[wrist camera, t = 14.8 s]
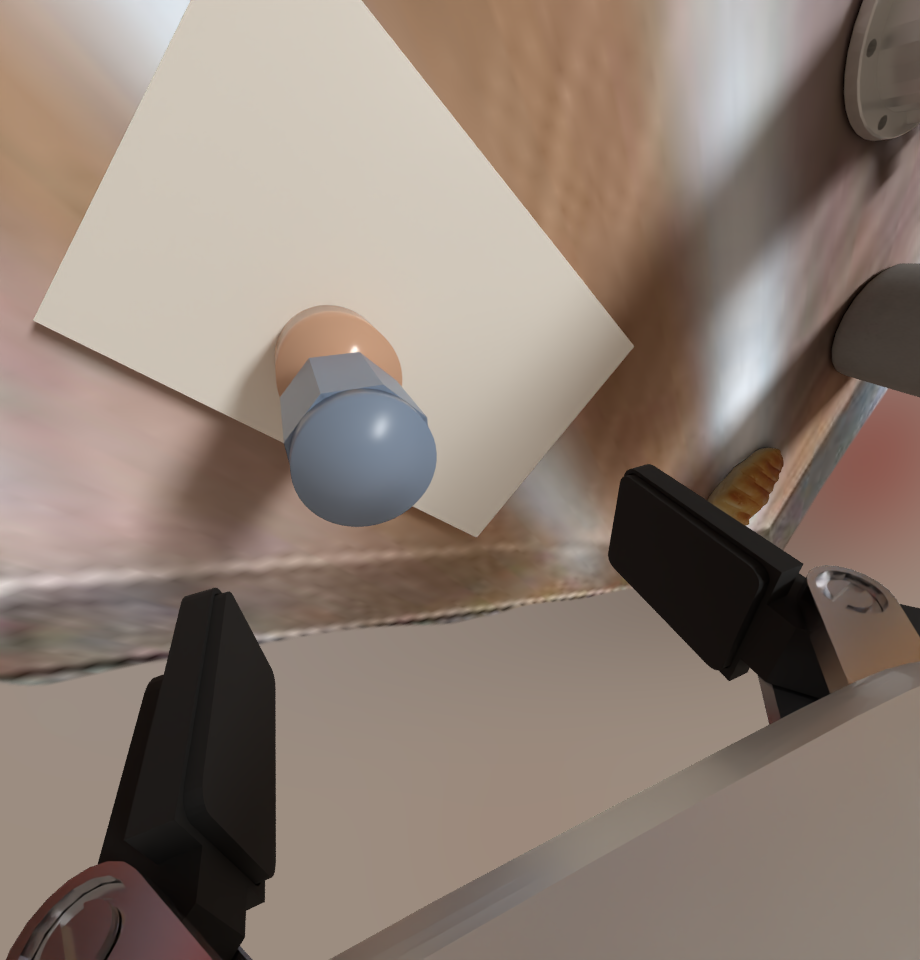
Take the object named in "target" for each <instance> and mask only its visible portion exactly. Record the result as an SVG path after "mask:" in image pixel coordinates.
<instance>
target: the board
mask: <svg viewBox="0 0 920 960" xmlns="http://www.w3.org/2000/svg"><path fill="white" fill-rule="evenodd" d="M319 305H335V306H340V307H344V308H347V309H350V310H352V311H354V312H356V313H358V314H359V315H361V316H362V317H364V318H365V319H366V320H367V321H368V322H369V323H370V324H371V325H372V326H373V327H375V328H376V329H377V330H378V331H379V332H380V333H381V334H382V335H383V336H384V337H385V338H386V339H387V341H388V342H389V343H390V344H391V346H392V347H393V349H394V350H395V352H396V354H397V356H398V359H399V362H400V365H401V370H402V388H403V389H404V390H405V391H406V392H407V394H408V395H409V396H410V397H411V398H412V400H413V401H414V402H415V403H416V404H417V406H418V407H419V408H420V409H421V410H422V412H423V413H424V414H425V415H426V417H427V421H428V427H429V429H430V431H431V433H432V435H433V437H434V441H435V445H436V452H437V462H436V468H435V472H434V475H433V478H432V480H431V483H430V485H429V487H428V488H427V490H426V492H425V493H424V494H423V496H422V497H421V498H420V499H419V500H418V501H417V502H416V503H415V504H414V505H413V507H415V508H417V509H419V510H421V511H423V512H425V513H427V514H429V515H431V516H433V517H435V518H437V519H440V520H442V521H444V522H446V523H448V524H450V525H452V526H454V527H456V528H458V529H460V530H462V531H464V532H466V533H468V534H470V535H472V536H474V537H476V538H477V537H478V536H479V534H480V533H481V532H482V531H483V530H484V528H485V527H486V526H487V525H488V523H489V522H490V521H491V520H492V519H493V517H494V516H495V515H496V514H497V513H498V511H499V510H500V509H501V508H502V506H503V505H504V504H505V503H506V502H507V500H508V499H509V498H510V497H511V496H512V494H513V493H514V492H515V491H516V489H517V488H518V487H519V486H520V485H521V483H522V482H523V481H524V480H525V479H526V477H527V476H528V475H529V474H530V472H531V471H532V470H533V469H534V468H535V466H536V465H537V464H538V463H539V462H540V460H541V459H542V458H543V457H544V455H545V454H546V453H547V452H548V451H549V449H550V448H551V447H552V446H553V445H554V443H555V442H556V441H557V440H558V438H559V437H560V436H561V435H562V434H563V432H564V431H565V430H566V429H567V428H568V426H569V425H570V424H571V423H572V421H573V420H574V419H575V418H576V417H577V415H578V414H579V413H580V412H581V410H582V409H583V408H584V407H585V406H586V404H587V403H588V402H589V401H590V400H591V398H592V397H593V396H594V395H595V393H596V392H597V391H598V390H599V389H600V387H601V386H602V385H603V384H604V383H605V381H606V380H607V379H608V378H609V376H610V375H611V374H612V373H613V372H614V370H615V369H616V368H617V367H618V366H619V364H620V363H621V362H622V361H623V359H624V358H625V357H626V356H627V355H628V353H629V352H630V351H631V350H632V349H633V347H634V345H633V344H632V343H631V342H630V340H629V339H628V338H627V336H626V335H625V334H624V333H623V331H622V330H621V329H620V328H619V326H618V325H617V324H616V323H615V321H614V320H613V319H612V317H611V316H610V315H609V314H608V312H607V311H606V310H605V309H604V307H603V306H602V305H601V304H600V302H599V301H598V300H597V298H596V297H595V296H594V295H593V293H592V292H591V291H590V290H589V288H588V287H587V286H586V284H585V283H584V282H583V281H582V279H581V278H580V277H579V276H578V274H577V273H576V272H575V271H574V269H573V268H572V267H571V265H570V264H569V263H568V262H567V260H566V259H565V258H564V257H563V255H562V254H561V253H560V252H559V250H558V249H557V248H556V246H555V245H554V244H553V243H552V241H551V240H550V239H549V238H548V236H547V235H546V234H545V232H544V231H543V230H542V229H541V227H540V226H539V225H538V224H537V222H536V221H535V220H534V219H533V217H532V216H531V215H530V213H529V212H528V211H527V210H526V208H525V207H524V206H523V205H522V203H521V202H520V201H519V200H518V198H517V197H516V196H515V194H514V193H513V192H512V191H511V189H510V188H509V187H508V186H507V184H506V183H505V182H504V180H503V179H502V178H501V177H500V175H499V174H498V173H497V172H496V170H495V169H494V168H493V167H492V165H491V164H490V163H489V161H488V160H487V159H486V158H485V156H484V155H483V154H482V153H481V151H480V150H479V149H478V148H477V146H476V145H475V144H474V142H473V141H472V140H471V139H470V137H469V136H468V135H467V134H466V132H465V131H464V130H463V129H462V127H461V126H460V125H459V123H458V122H457V121H456V120H455V118H454V117H453V116H452V115H451V113H450V112H449V111H448V109H447V108H446V107H445V106H444V104H443V103H442V102H441V101H440V99H439V98H438V97H437V96H436V94H435V93H434V92H433V90H432V89H431V88H430V87H429V85H428V84H427V83H426V82H425V80H424V79H423V78H422V77H421V75H420V74H419V73H418V71H417V70H416V69H415V68H414V66H413V65H412V64H411V63H410V61H409V60H408V59H407V57H406V56H405V55H404V54H403V52H402V51H401V50H400V49H399V47H398V46H397V45H396V44H395V42H394V41H393V40H392V38H391V37H390V36H389V35H388V33H387V32H386V31H385V30H384V28H383V27H382V26H381V25H380V23H379V22H378V21H377V19H376V18H375V17H374V16H373V14H372V13H371V12H370V11H369V9H368V8H367V7H366V5H365V4H364V3H363V2H362V0H191V1H190V3H189V5H188V7H187V9H186V11H185V13H184V15H183V17H182V19H181V21H180V23H179V25H178V27H177V29H176V31H175V33H174V35H173V37H172V39H171V42H170V44H169V46H168V48H167V50H166V52H165V54H164V56H163V58H162V60H161V62H160V64H159V66H158V68H157V70H156V72H155V74H154V76H153V78H152V80H151V82H150V84H149V86H148V88H147V90H146V92H145V94H144V96H143V98H142V100H141V102H140V104H139V107H138V109H137V111H136V113H135V115H134V117H133V119H132V121H131V123H130V125H129V127H128V129H127V131H126V133H125V135H124V137H123V139H122V141H121V143H120V145H119V147H118V149H117V151H116V153H115V155H114V157H113V159H112V161H111V163H110V165H109V167H108V169H107V171H106V174H105V176H104V178H103V180H102V182H101V184H100V186H99V188H98V190H97V192H96V194H95V196H94V198H93V200H92V202H91V204H90V206H89V208H88V210H87V212H86V214H85V216H84V218H83V220H82V222H81V224H80V226H79V228H78V230H77V232H76V234H75V236H74V238H73V241H72V243H71V245H70V247H69V249H68V251H67V253H66V255H65V257H64V259H63V261H62V263H61V265H60V267H59V269H58V271H57V273H56V275H55V277H54V279H53V281H52V283H51V285H50V287H49V289H48V291H47V293H46V295H45V297H44V299H43V301H42V303H41V305H40V308H39V310H38V312H37V314H36V316H35V318H34V320H33V321H35V322H37V323H39V324H41V325H43V326H45V327H47V328H49V329H51V330H53V331H55V332H57V333H60V334H62V335H64V336H66V337H68V338H70V339H72V340H74V341H76V342H78V343H80V344H82V345H84V346H86V347H88V348H90V349H92V350H94V351H96V352H98V353H100V354H102V355H104V356H107V357H109V358H111V359H113V360H115V361H117V362H119V363H121V364H123V365H125V366H127V367H129V368H131V369H133V370H135V371H137V372H139V373H141V374H143V375H145V376H147V377H149V378H151V379H154V380H156V381H158V382H160V383H162V384H164V385H166V386H168V387H170V388H172V389H174V390H176V391H178V392H180V393H182V394H184V395H186V396H188V397H190V398H192V399H194V400H196V401H198V402H201V403H203V404H205V405H207V406H209V407H211V408H213V409H215V410H217V411H219V412H221V413H223V414H225V415H227V416H229V417H231V418H233V419H235V420H237V421H239V422H241V423H243V424H245V425H247V426H250V427H252V428H254V429H256V430H258V431H260V432H262V433H264V434H266V435H268V436H270V437H272V438H274V439H276V440H278V441H280V442H282V443H284V439H283V428H282V416H281V405H280V397H279V394H278V390H277V384H276V372H275V358H274V356H275V346H276V342H277V339H278V336H279V334H280V332H281V330H282V329H283V327H284V326H285V325H286V323H287V322H288V321H289V320H290V319H291V318H292V317H294V316H295V315H296V314H298V313H299V312H301V311H303V310H305V309H308V308H311V307H315V306H319Z"/></svg>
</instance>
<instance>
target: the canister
mask: <svg viewBox="0 0 920 960" xmlns="http://www.w3.org/2000/svg"><path fill="white" fill-rule="evenodd" d="M832 362H833V365H834V367H835V369H836V370H837V371H838V372H840V373H842V374H844V375H846V376H849V377H853V378H856V379H859V380H863V381H866V382H870V383H873V384H876V385H880V386H883V387H887V388H890V389H893V390H897V391H900V392H904V393H907V394H910V395H914V396H917V397H920V264H897V265H895V266H893V267H891V268H889V269H886V270H884V271H883V272H881V273H880V274H879V275H878V276H876V277H875V278H874V279H873V280H872V281H870V282H869V283H868V284H867V285H866V286H865V287H864V289H863V290H862V291H861V292H860V293H859V294H858V295H857V297H856V298H855V299H854V301H853V302H852V304H851V305H850V307H849V308H848V310H847V311H846V313H845V315H844V316H843V318H842V321H841V323H840V325H839V327H838V329H837V332H836V334H835V338H834V342H833V346H832Z"/></svg>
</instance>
